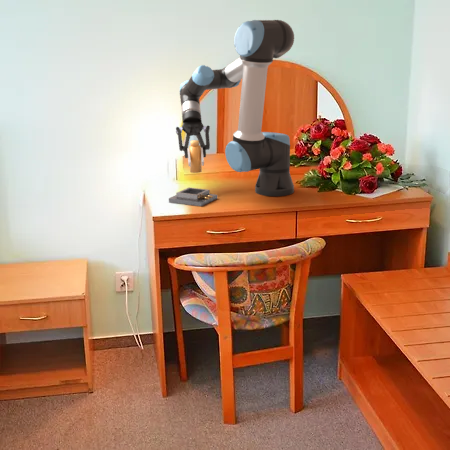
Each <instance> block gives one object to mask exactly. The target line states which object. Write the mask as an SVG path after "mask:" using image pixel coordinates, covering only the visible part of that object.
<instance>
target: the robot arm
mask: <svg viewBox="0 0 450 450" xmlns="http://www.w3.org/2000/svg"><path fill="white" fill-rule="evenodd" d="M233 39H234V40H233V43H234V44H233V45H234V48H235V52H236V53H237V54H238V55H239V57H237V58H236V59H234V60H233V61H232V62H231V63H229V64H227V65H226V66H225V67H223V68H221V69H212V68H211V67H210V66H208V65H205V64H201V65H199V66H198V67H197V68H196V69H195V70H194V71H193V72H192V75H191V76H190V78H189V79H187V80H184V82H181V84H180V85H179V98H180V108H181V109H180V110H181V119H182V125H181V126H180V127H179V126H176V127H175V133H176V134H177V138H178V147H179V152H180V151H181V152H182V151H183V153H184V158H185V159H187V162H188V167H190V166H191V160H190V149H189V146H190V139H191V136H196V138H197V140H198V141H199V145H200V146H201V167H202V166H204V165H205V158H206V156H207V150H210V147H211V145H210V144H211V143H210V134H209V133H210V129H211V128H210V127H211V126H210V125H207V126H206V125H204V124H203V121H202V115H201V111H202V110H201V104H200V99H201V97H202V95H203V94H204V93H205V92H206V91H208V90H217V89H218V90H219V89H232V88H235V87H236V88H237V87H238V86H239V85H240V83H241V90H240V100H239V101H240V104H239V111H238V112H239V113H238V124H237V130H236V131H234V132H233V134H232V140H231V141H229V142H228V143H227V144H226V146H225V159H226V161H227V164H228V165H229V167H230V168H231V169H232V170H233V171H235V172H237V173H242V172H243V173H246V172H247V173H248V172H251V171H255V170H259V173H258V177H257V178H256V182H255V186H254V193H255V194H258V195H260V196H265V197H284V196H288V195H289V196H290V195H292V194H293V193H294V192H295V185H294V182H293V179H292V178H293V177H292V176H291V173H290V171H291V169H290V168H291V166H290V165H291V162H290V161H291V144H290V143H291V142H290V141H291V140H290V139H291V138H290V136H289V134H285V133H279V132H273V131H272V132H271V131H262V126H263V117H264V108H265V107H264V106H265V98H266V87H267V77H268V69H269V66H270V65H271V64H272V63H273V61H274V59H279V58H280V57H283V56H285V54H287V53H288V52H289V51H290V50H291V48H292V47H293V45H294V42H295V34H294V31H293V28H292V27H291V25H290V24H289V23H288V22H286V21H284V20H281V19H265V20H264V19H252V20H247V21H244V22H242V23H241V24H240V25H239V26H238V28H237V29H236V32H235V34H234V38H233ZM202 131H203V132H204V134H205V135H204V136H205V142H204V139H203V136H202V133H201V132H202ZM183 132H184V133H185V134H186V137H185V141H184V145H183V139H182V138H183V137H182V133H183Z"/></svg>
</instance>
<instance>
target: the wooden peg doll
mask: <svg viewBox="0 0 450 450" xmlns="http://www.w3.org/2000/svg"><path fill="white" fill-rule="evenodd" d="M189 143H190V145H188V148H189V149H190V160H191V166H189V171H190V173H191V174H192V173H193V174H195V173H196V174H198V173H202V170H203V169H202V163H201V146H200V144H199V141H198V139H196V140H195V139H194V140H189Z"/></svg>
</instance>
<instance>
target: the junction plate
mask: <svg viewBox="0 0 450 450" xmlns="http://www.w3.org/2000/svg"><path fill="white" fill-rule="evenodd" d="M215 200H218V194H215V193H210V189H205V188H198V187H197V188H195V187H187V188H184V189H183V190H180V191H177V192H176V194H175V195H173V196H171V197H169V198H168V202H169V203H173V204H180V205H186V206H187V205H189V206H195V207H203V206H205V205H208V204H209V203H211V202H213V201H215Z"/></svg>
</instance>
